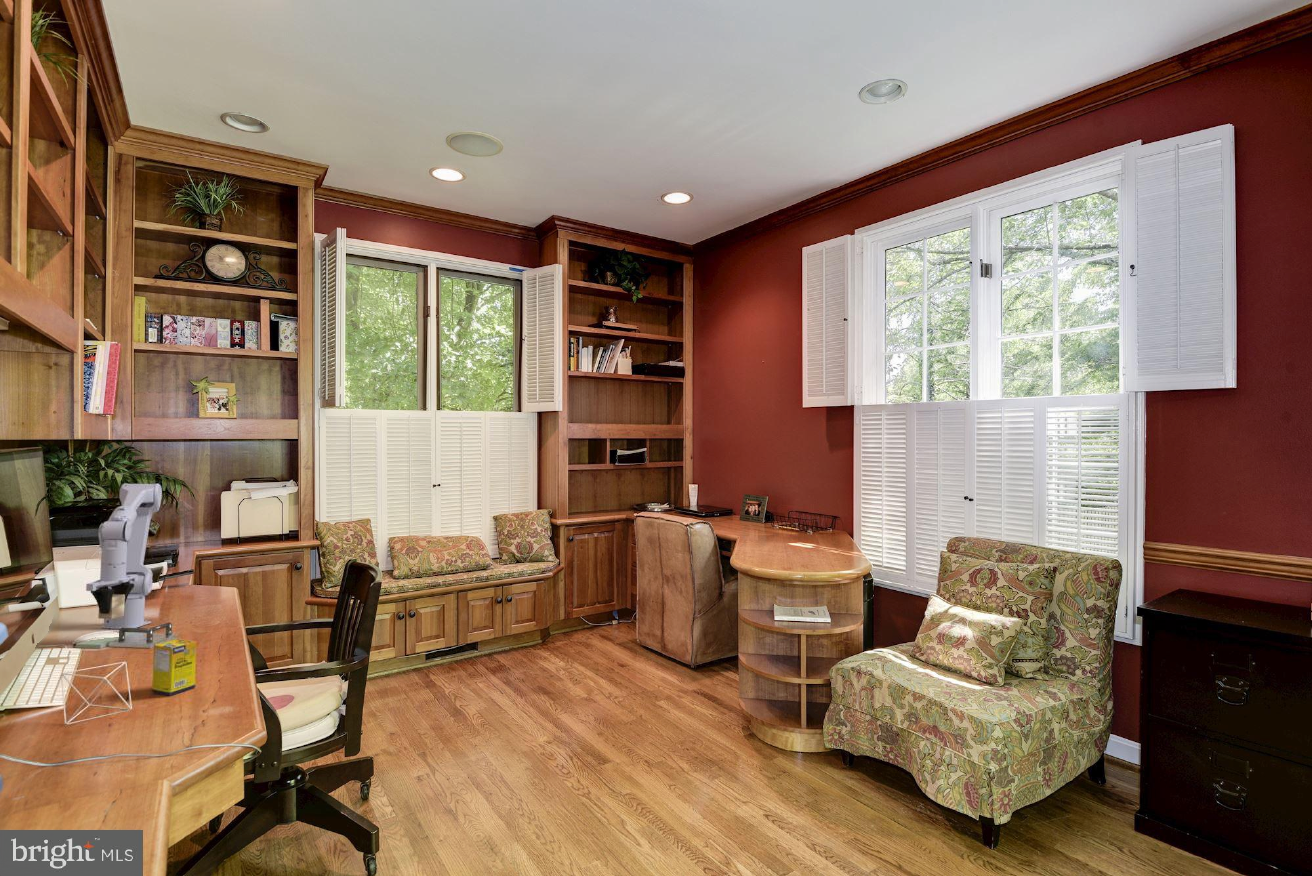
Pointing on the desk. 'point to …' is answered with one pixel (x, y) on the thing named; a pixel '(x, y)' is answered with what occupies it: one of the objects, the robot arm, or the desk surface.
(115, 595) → the maple block
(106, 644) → the pad
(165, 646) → the supplement box
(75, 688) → the geometric polyhedron
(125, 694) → the desk surface
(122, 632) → the beige flat handled piece
